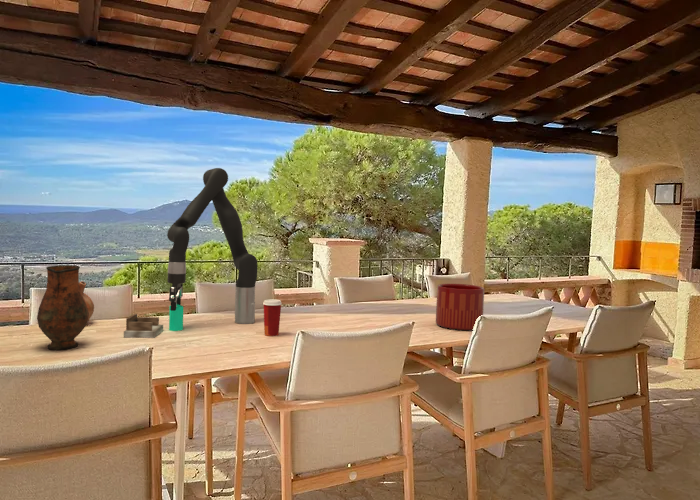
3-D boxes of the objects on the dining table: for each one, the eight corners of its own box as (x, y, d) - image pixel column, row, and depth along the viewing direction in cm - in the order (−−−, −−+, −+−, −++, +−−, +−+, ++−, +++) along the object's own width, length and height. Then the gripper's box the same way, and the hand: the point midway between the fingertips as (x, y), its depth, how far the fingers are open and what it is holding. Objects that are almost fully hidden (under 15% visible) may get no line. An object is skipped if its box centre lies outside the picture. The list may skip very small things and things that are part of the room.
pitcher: (29, 353, 176) (29, 268, 174) (48, 339, 196) (49, 262, 194) (82, 351, 180) (82, 269, 178) (95, 337, 201) (95, 263, 199)
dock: (163, 330, 218) (163, 313, 218) (154, 337, 204) (154, 319, 204) (134, 329, 217) (134, 312, 216) (123, 337, 203) (123, 319, 203)
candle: (170, 327, 223) (171, 301, 223) (184, 328, 224) (185, 301, 223) (167, 330, 217) (167, 303, 217) (181, 331, 218) (181, 303, 217)
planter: (463, 333, 235) (466, 290, 233) (426, 324, 252) (427, 284, 251) (491, 328, 250) (493, 287, 249) (454, 320, 267) (455, 282, 266)
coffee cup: (284, 333, 220) (285, 300, 219) (275, 337, 212) (276, 302, 211) (267, 331, 223) (268, 298, 222) (258, 335, 215) (259, 301, 214)
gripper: (182, 274, 213) (180, 312, 214) (189, 270, 227) (187, 306, 228) (163, 273, 212) (162, 311, 213) (172, 270, 226) (170, 305, 227)
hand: (175, 308), depth 220 cm, fingers open, 8 cm apart
